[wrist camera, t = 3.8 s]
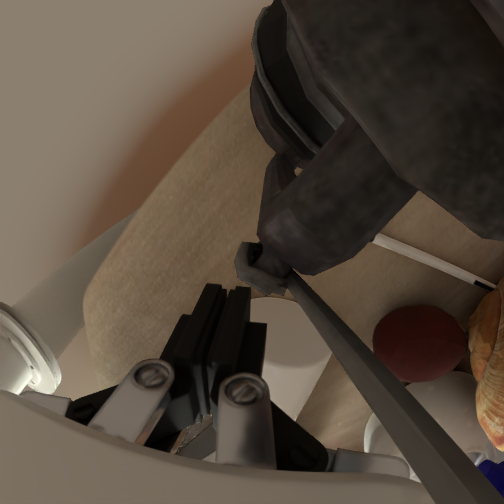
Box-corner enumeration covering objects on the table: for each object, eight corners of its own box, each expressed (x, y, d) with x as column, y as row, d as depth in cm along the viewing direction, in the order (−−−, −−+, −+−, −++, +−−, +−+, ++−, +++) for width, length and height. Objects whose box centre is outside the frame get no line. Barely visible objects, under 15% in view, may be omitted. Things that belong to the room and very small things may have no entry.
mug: (329, 307, 25) (341, 376, 17) (297, 381, 29) (296, 445, 22) (191, 276, 25) (157, 336, 18) (184, 356, 29) (160, 416, 22)
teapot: (369, 455, 35) (377, 529, 23) (341, 398, 29) (351, 507, 17) (478, 412, 30) (502, 479, 18) (488, 335, 24) (540, 424, 12)
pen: (499, 295, 22) (505, 301, 21) (349, 232, 21) (352, 237, 20) (504, 288, 22) (509, 293, 21) (353, 221, 21) (357, 226, 20)
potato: (385, 279, 23) (408, 325, 17) (466, 303, 23) (495, 342, 17) (350, 344, 26) (360, 394, 20) (430, 358, 26) (448, 400, 20)
